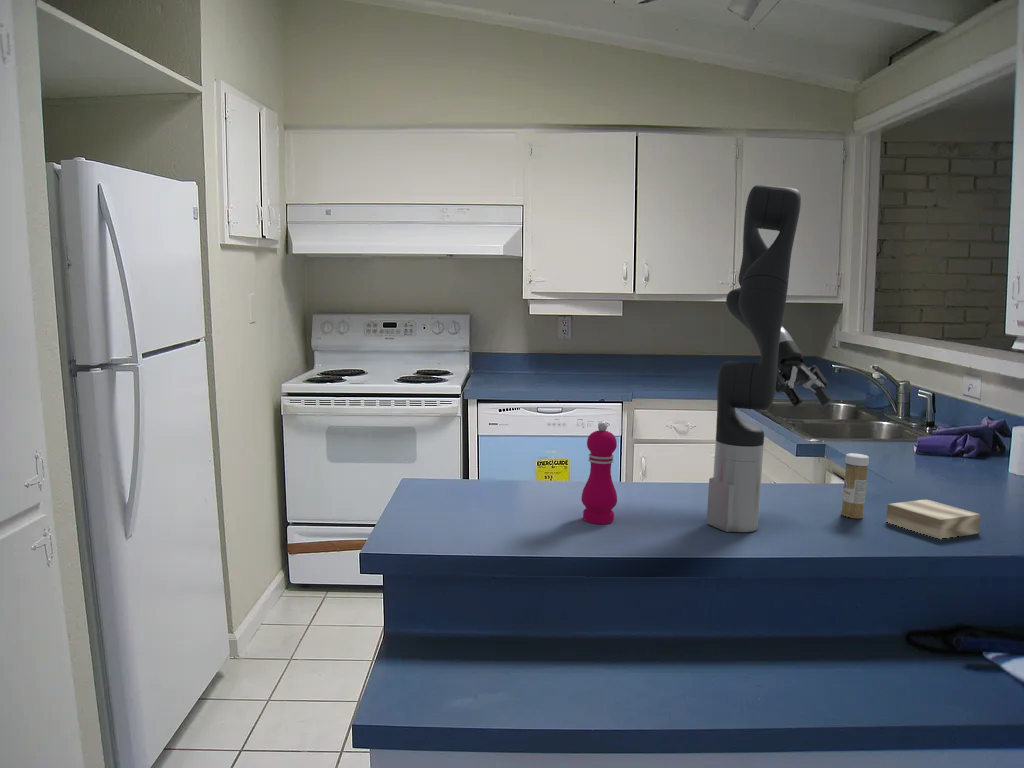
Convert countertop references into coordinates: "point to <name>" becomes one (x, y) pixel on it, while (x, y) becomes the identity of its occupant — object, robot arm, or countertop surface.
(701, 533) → the countertop surface
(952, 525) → the wooden riser
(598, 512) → the pepper mill
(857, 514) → the sprinkles bottle
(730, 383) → the robot arm
